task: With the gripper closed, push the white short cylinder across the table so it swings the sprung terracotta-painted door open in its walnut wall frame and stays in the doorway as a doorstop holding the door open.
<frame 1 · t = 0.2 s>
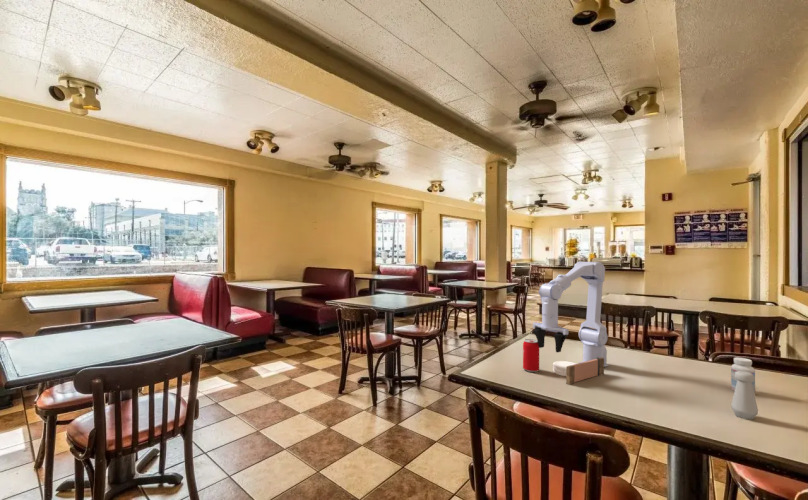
hand: (549, 349, 139), 10 cm above the table, fingers open, 7 cm apart
salt shaker: (744, 417, 105), on the table
door: (583, 369, 135), point 3 cm above the table, hinge at 0.0°
pill bottle: (742, 392, 124), on the table
white short cylinder: (566, 373, 142), on the table
beverage can: (530, 370, 144), on the table, touching gripper
wall frame: (585, 378, 135), on the table
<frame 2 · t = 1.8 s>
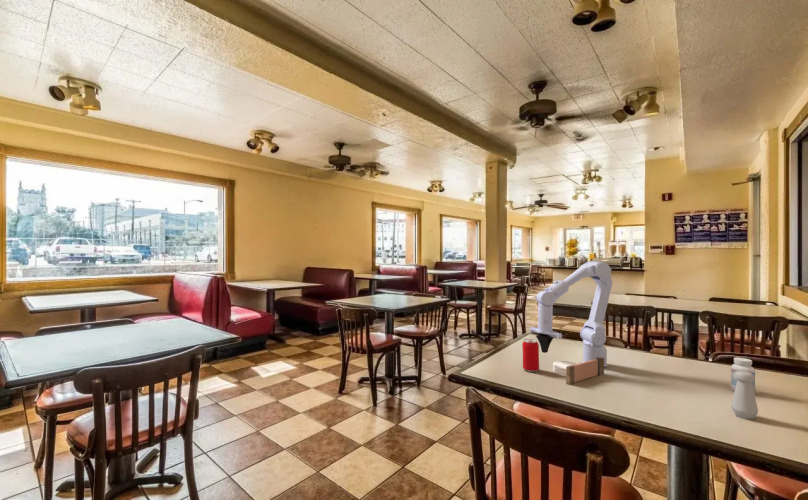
hand: (544, 352, 150), 6 cm above the table, fingers closed
beverage can: (530, 370, 144), on the table
everything else where it was.
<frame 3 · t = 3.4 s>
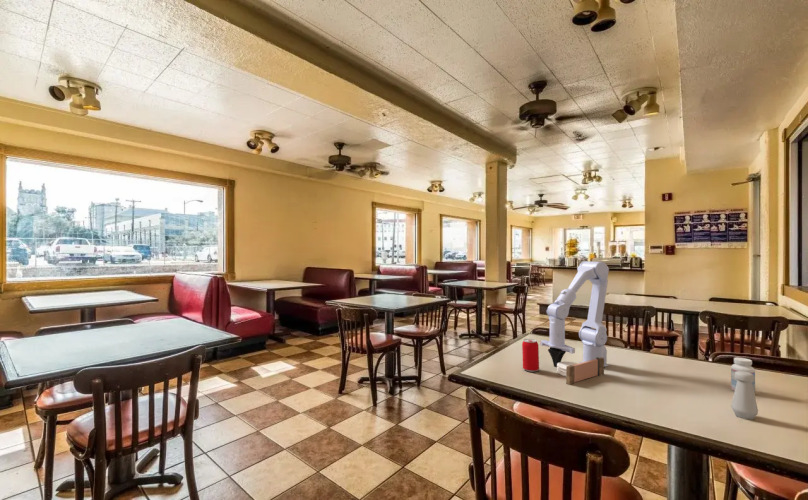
hand: (556, 366, 145), 1 cm above the table, fingers closed
white short cylinder: (570, 374, 140), on the table, touching gripper
everything else where it was.
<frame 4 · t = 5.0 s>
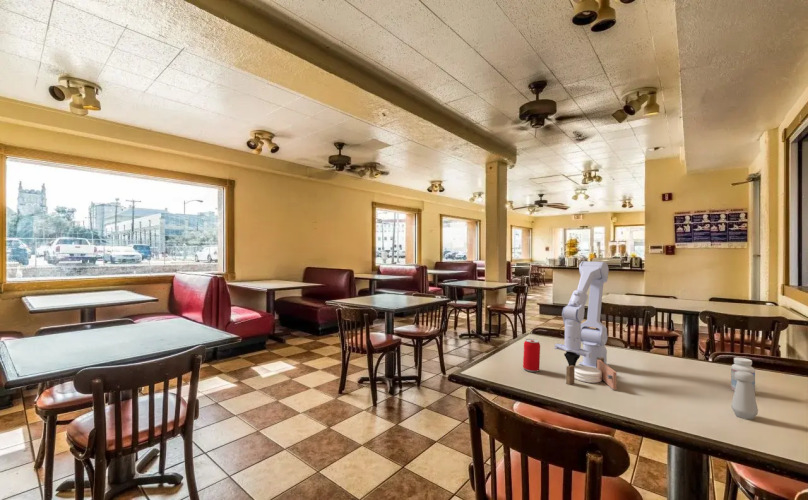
hand: (572, 371, 139), 1 cm above the table, fingers closed, pressing on white short cylinder
door: (604, 373, 131), point 3 cm above the table, hinge at 49.8°, touching white short cylinder
white short cylinder: (586, 379, 135), on the table, touching door, gripper
everything else where it was.
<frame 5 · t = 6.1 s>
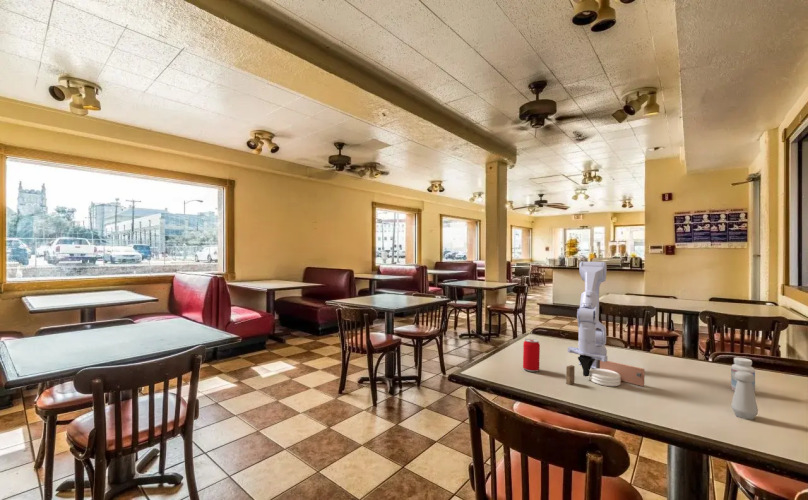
hand: (586, 375, 134), 1 cm above the table, fingers closed, pressing on white short cylinder
door: (620, 372, 132), point 3 cm above the table, hinge at 99.7°, touching white short cylinder
white short cylinder: (604, 382, 132), on the table, touching door, gripper
everything else where it was.
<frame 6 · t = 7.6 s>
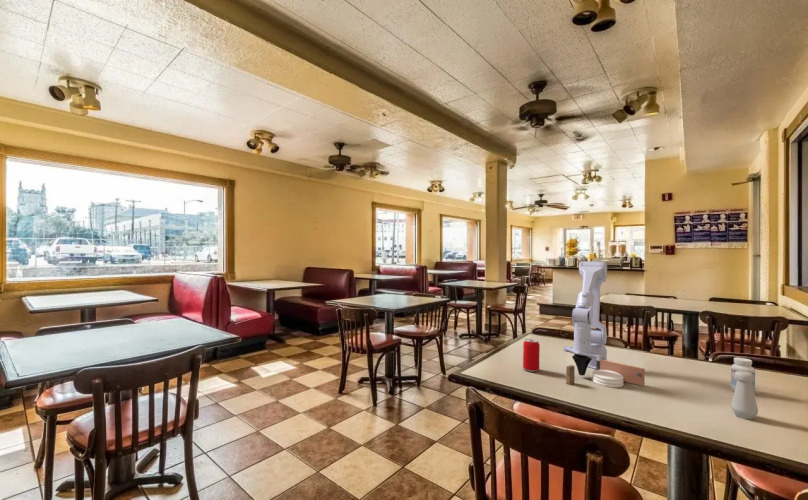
hand: (581, 374, 136), 1 cm above the table, fingers closed
door: (620, 372, 133), point 3 cm above the table, hinge at 100.5°
white short cylinder: (607, 383, 131), on the table
everything else where it was.
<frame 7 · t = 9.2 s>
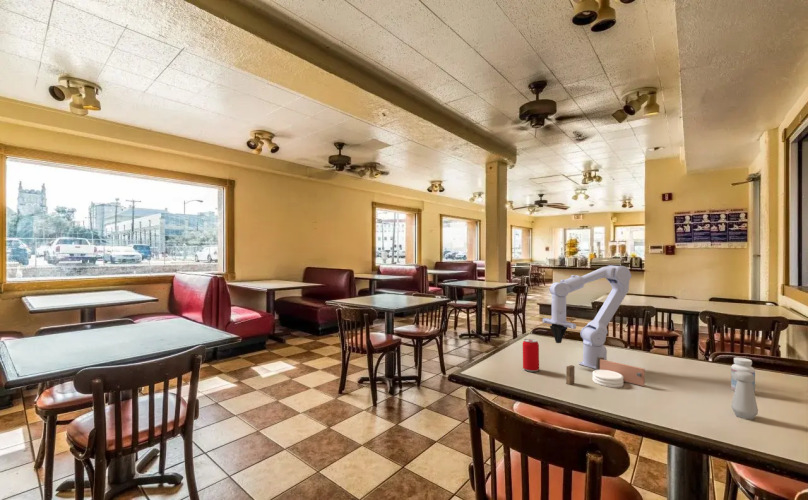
hand: (558, 342, 151), 9 cm above the table, fingers closed
nothing on the table moved.
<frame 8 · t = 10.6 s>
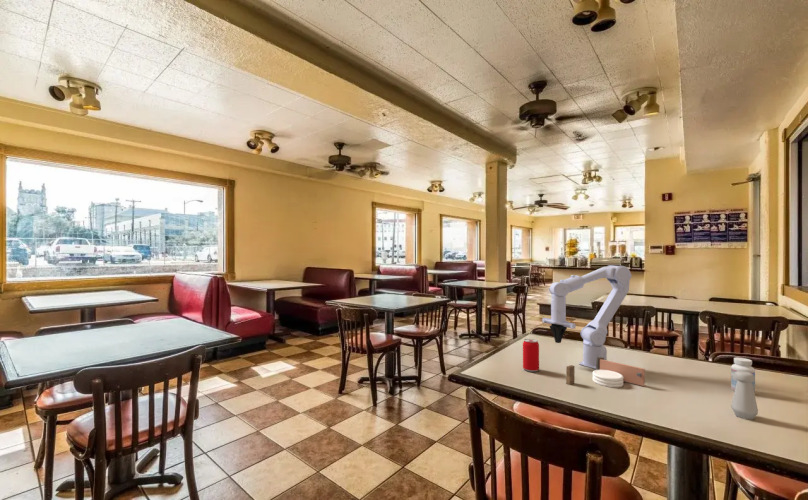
hand: (558, 342, 152), 9 cm above the table, fingers closed
nothing on the table moved.
at the end: door at +100° (first picture: +0°); white short cylinder inside the target area (3.3 cm from its centre), on the table; white short cylinder moved 14.7 cm from its start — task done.
